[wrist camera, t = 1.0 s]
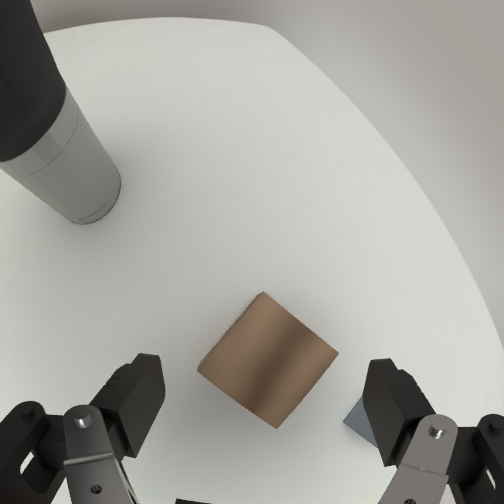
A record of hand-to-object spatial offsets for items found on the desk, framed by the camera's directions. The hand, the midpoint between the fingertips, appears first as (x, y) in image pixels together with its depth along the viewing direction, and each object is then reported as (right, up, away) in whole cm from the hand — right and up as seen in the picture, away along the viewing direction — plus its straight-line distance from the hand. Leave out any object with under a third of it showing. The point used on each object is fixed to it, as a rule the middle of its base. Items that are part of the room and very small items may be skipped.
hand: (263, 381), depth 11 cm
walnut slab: (+1, -7, +22) cm, 23 cm away
